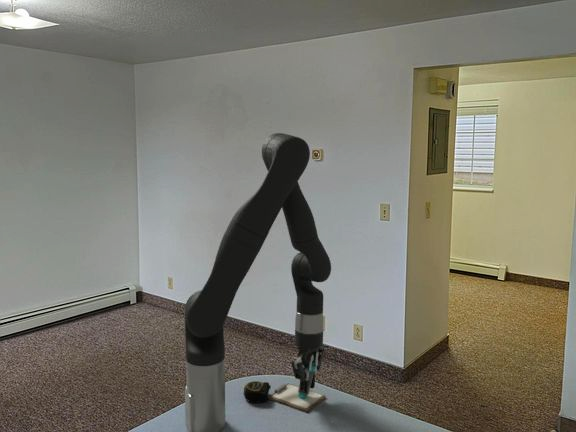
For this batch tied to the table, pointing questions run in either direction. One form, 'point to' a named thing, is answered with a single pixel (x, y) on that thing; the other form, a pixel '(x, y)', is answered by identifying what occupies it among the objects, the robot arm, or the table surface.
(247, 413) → the table surface
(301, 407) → the clipboard
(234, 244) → the robot arm
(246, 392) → the tape measure
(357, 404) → the table surface
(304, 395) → the marker
